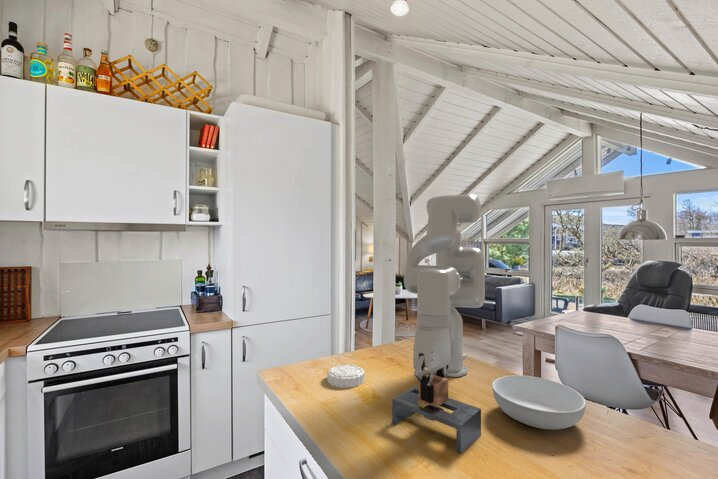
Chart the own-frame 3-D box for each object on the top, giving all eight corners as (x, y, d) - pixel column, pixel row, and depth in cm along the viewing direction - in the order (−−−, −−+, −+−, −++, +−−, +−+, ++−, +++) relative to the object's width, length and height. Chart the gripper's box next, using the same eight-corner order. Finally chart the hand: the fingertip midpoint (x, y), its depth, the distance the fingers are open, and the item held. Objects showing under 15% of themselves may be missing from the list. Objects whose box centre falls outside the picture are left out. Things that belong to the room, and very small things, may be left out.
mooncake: (371, 384, 107) (371, 373, 107) (335, 391, 102) (335, 379, 102) (354, 371, 118) (354, 361, 118) (322, 377, 113) (322, 366, 113)
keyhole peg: (429, 407, 85) (429, 373, 85) (448, 414, 82) (448, 379, 82) (418, 415, 81) (417, 379, 82) (437, 423, 78) (437, 385, 78)
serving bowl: (533, 449, 73) (533, 417, 74) (475, 404, 94) (475, 379, 94) (608, 434, 79) (608, 404, 79) (538, 395, 99) (538, 371, 99)
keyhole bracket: (392, 423, 84) (392, 398, 84) (415, 409, 91) (415, 386, 91) (460, 454, 71) (460, 425, 71) (481, 435, 79) (481, 408, 79)
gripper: (438, 312, 90) (438, 382, 90) (399, 324, 78) (399, 404, 78) (464, 317, 85) (464, 390, 85) (427, 330, 73) (427, 415, 73)
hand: (433, 396), depth 82 cm, fingers closed on keyhole peg, 5 cm apart
